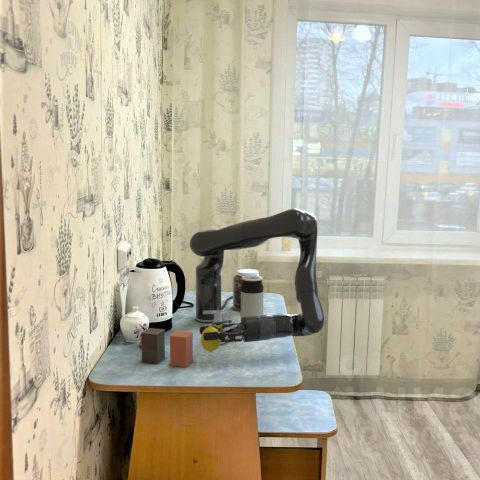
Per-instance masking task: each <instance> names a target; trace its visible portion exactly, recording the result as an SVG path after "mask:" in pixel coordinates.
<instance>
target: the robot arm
mask: <svg viewBox="0 0 480 480" xmlns="http://www.w3.org/2000/svg"><path fill="white" fill-rule="evenodd" d="M275 238H276V239H277V238H292V239H296V240H298V244H299V258H298V262H297V266H296V269H295V273H294V291H295V299H296V302H297V303H298V304H299V305H300V309H301V313H298V314H289V313H288V314H287V313H279V314H263V315H257V316H246V317H242V319H241V318H240V322H235V321H233V320H232V319H227V320H222V321H220V322H214V323H213V321H214V314H213V311H218V310H220V311H223V309H224V308H225V307H226V305H227V304H228V301H230V300H231V299H233V295H231V296H229V297H227V298H226V300H225V302H224V304H223V305H222V270H223V267H224V261H225V260H224V259H225V258H224V256H225V251H236V250H244V249H252V248H256V247H260V246H262V245H264V244H265V243H266V242H268V241H269V240H271V239H275ZM317 247H318V221H317V218H316V216H315V215H314V214H313V213H311V212H309V211H306V210H303V209H299V208H290V209H286V210H284V211H281V212H278V213H276V214H272V215H270V216H265V217H258V218H254V219H249V220H244V221H241V222H240V221H239V222H237V223H234V224H231V225H227V226H225V227H222V228H219V229H213V228H212V229H205V230H199V231H197V232H195V233H194V234H192V236H191V238H190V240H189V248H190V250H191V252H192V253H193V254H194V255H196V256H198V257H204V258H203V259H202V261H200V262H199V263H198V264H197V265H196V266H195V321H196V322H199V323H207V324H208V323H209V324H210V323H212V325H211V326H212V327H214V328H216V329H217V330H218V332H206V333H204V334H203V339H204V340H205V341H209V340H218V341H220V340H221V342H226V343H239V342H240V343H241V342H244V343H253V342H263V341H269V340H273V339H281V338H282V339H283V338H288V337H308V336H312V335H315V334H318V333H319V332H321V331H322V330H323V328H324V327H325V313H324V310H323V306H322V302H321V300H320V295H319V286H318V285H319V284H318V277H317V276H318V275H317V251H318V250H317ZM209 326H210V325H203V326H200V327H199V334H200V335H202V333H203V331H204V330H205V329H206V328H208V327H209ZM217 327H220V328H217Z"/></svg>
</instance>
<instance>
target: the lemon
mask: <svg viewBox="0 0 480 480" xmlns="http://www.w3.org/2000/svg"><path fill="white" fill-rule="evenodd" d="M208 326H209V327H208V328H206V329H205V330H204V331H203V333H202V334H201V337H200V343H201V346H202V348H203V349H204V350H205V351H208V352H209V353H213V352H214V351H216V350H218V348H219V347H220V345H221V344H220V341H218V340H209V341H205V340H204V339H203V334H204V333H206V332H218V330H217V329H216V328H214V327H212V325H208Z"/></svg>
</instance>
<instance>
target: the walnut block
mask: <svg viewBox="0 0 480 480" xmlns="http://www.w3.org/2000/svg"><path fill="white" fill-rule="evenodd" d="M165 331H166V330H165V328H164V329H163V328H155V327H148V328H147V329H145V330H144V331H142V332H141V334H140V338H141V343H142V347H141V363H145V364H154V365H158V364H159V363H161V362H162V361H163V360H165V359H166V340H165V339H166V337H165V335H166V333H165Z"/></svg>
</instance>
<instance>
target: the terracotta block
mask: <svg viewBox="0 0 480 480" xmlns="http://www.w3.org/2000/svg"><path fill="white" fill-rule="evenodd" d="M193 333H194V332H193V331H184V330H176V331H174V332H173V333H171V334H170V335H169V361H170V362H169V366H172V367H173V366H174V367H182V368H187V367H188V366H189V365H191V364H192V363H193V362H194V344H193V343H194V341H193V340H194V334H193Z"/></svg>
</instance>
